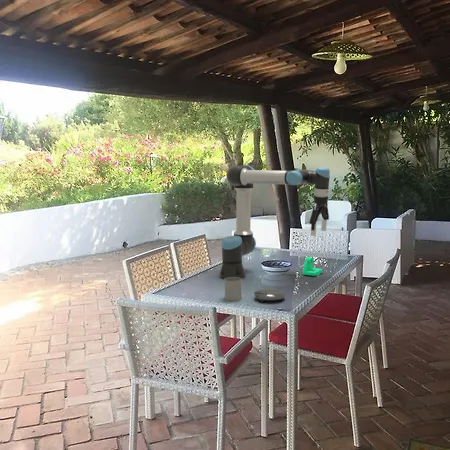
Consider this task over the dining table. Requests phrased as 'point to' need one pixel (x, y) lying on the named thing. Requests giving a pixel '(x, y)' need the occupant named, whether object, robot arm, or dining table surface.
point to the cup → (233, 289)
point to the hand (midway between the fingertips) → (318, 233)
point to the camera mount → (310, 268)
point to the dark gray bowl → (269, 295)
